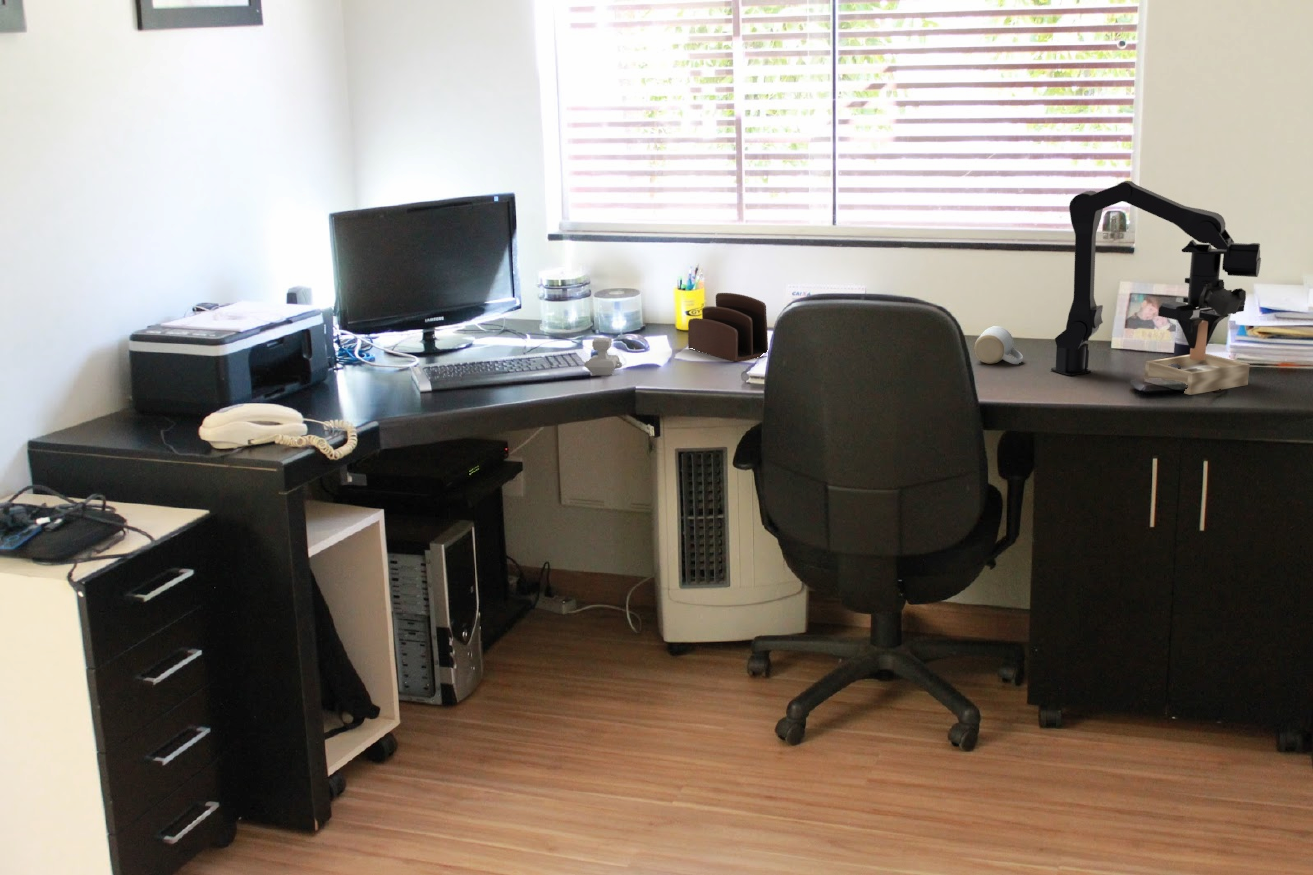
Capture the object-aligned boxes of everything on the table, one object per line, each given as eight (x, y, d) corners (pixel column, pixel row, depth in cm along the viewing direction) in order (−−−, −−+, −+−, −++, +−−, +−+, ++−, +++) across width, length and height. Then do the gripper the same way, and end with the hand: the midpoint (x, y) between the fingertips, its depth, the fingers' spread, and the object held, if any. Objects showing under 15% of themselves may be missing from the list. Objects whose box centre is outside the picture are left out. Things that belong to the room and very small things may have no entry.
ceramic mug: (971, 363, 305) (973, 331, 303) (980, 356, 312) (982, 324, 310) (1018, 368, 300) (1020, 335, 298) (1025, 360, 307) (1027, 328, 305)
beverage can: (1202, 366, 295) (1206, 313, 292) (1175, 365, 296) (1179, 313, 293) (1197, 360, 301) (1201, 308, 297) (1171, 360, 302) (1175, 308, 298)
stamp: (625, 370, 310) (623, 335, 307) (619, 377, 303) (618, 341, 301) (587, 370, 311) (585, 335, 309) (581, 377, 305) (579, 341, 302)
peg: (1197, 361, 278) (1200, 323, 276) (1186, 358, 280) (1189, 321, 278) (1207, 359, 279) (1211, 322, 277) (1197, 356, 282) (1200, 319, 279)
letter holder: (719, 343, 335) (718, 288, 331) (768, 356, 319) (768, 299, 315) (687, 349, 330) (686, 294, 326) (736, 363, 314) (735, 304, 310)
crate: (1190, 394, 272) (1192, 373, 271) (1144, 381, 284) (1145, 361, 283) (1247, 384, 279) (1249, 364, 277) (1200, 372, 290) (1202, 352, 289)
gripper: (1200, 284, 264) (1193, 360, 268) (1268, 275, 271) (1261, 349, 276) (1159, 276, 274) (1153, 349, 278) (1226, 268, 281) (1219, 339, 285)
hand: (1198, 347), depth 279 cm, fingers closed on peg, 3 cm apart
